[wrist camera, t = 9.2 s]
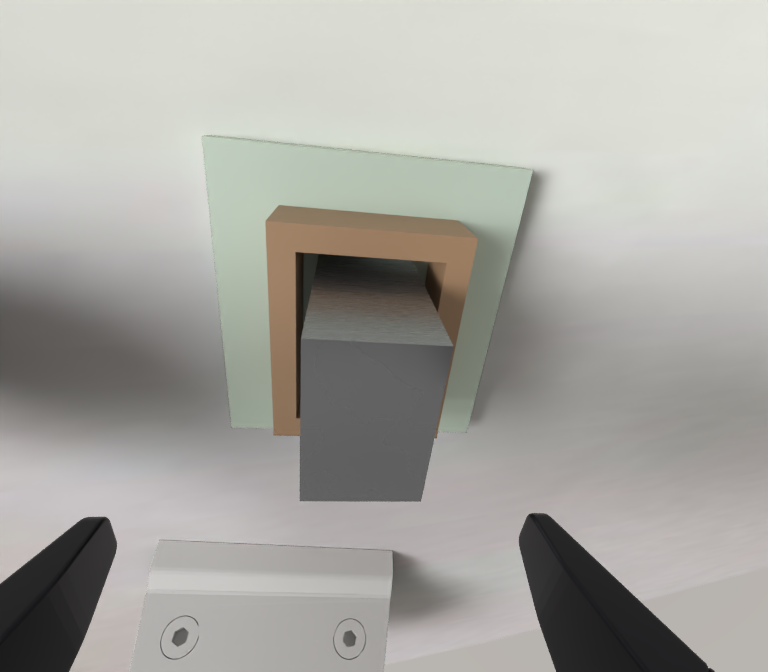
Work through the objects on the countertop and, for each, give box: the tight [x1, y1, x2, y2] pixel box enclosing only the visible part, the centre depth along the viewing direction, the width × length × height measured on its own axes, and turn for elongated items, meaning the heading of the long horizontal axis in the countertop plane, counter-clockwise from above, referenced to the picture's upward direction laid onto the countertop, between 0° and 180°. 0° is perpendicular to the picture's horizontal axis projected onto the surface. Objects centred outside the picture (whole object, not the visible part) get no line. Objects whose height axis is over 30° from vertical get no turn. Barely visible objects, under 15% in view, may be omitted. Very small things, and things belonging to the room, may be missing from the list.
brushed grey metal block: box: [300, 254, 454, 501], centre depth 15 cm, size 4×6×8 cm, turn 174°
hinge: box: [129, 540, 393, 672], centre depth 26 cm, size 17×5×10 cm, turn 79°
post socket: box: [202, 135, 533, 438], centre depth 18 cm, size 13×14×4 cm
